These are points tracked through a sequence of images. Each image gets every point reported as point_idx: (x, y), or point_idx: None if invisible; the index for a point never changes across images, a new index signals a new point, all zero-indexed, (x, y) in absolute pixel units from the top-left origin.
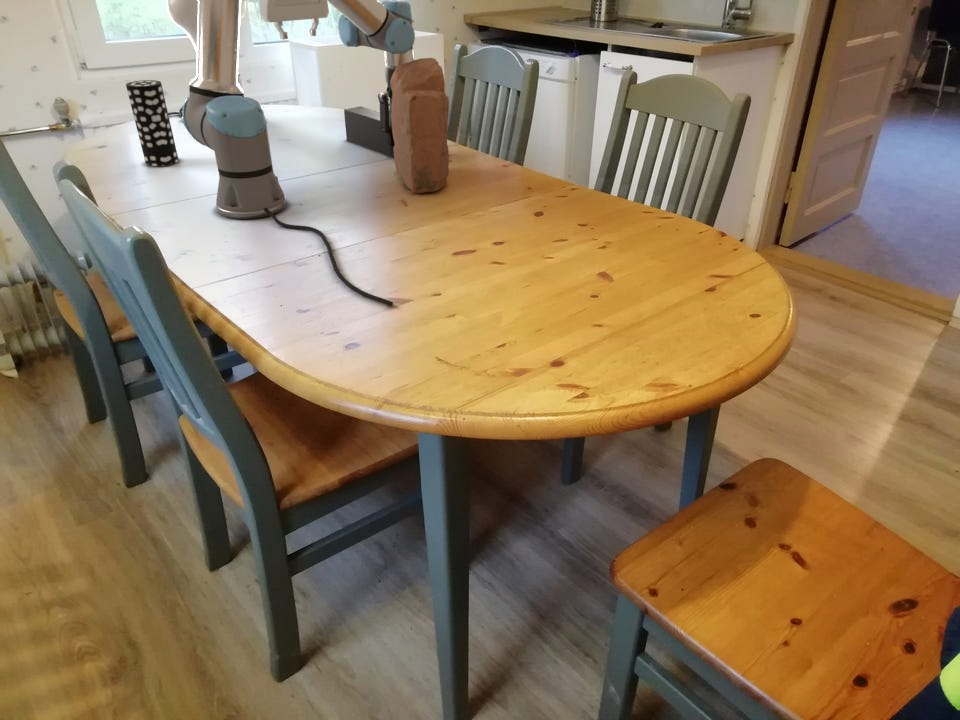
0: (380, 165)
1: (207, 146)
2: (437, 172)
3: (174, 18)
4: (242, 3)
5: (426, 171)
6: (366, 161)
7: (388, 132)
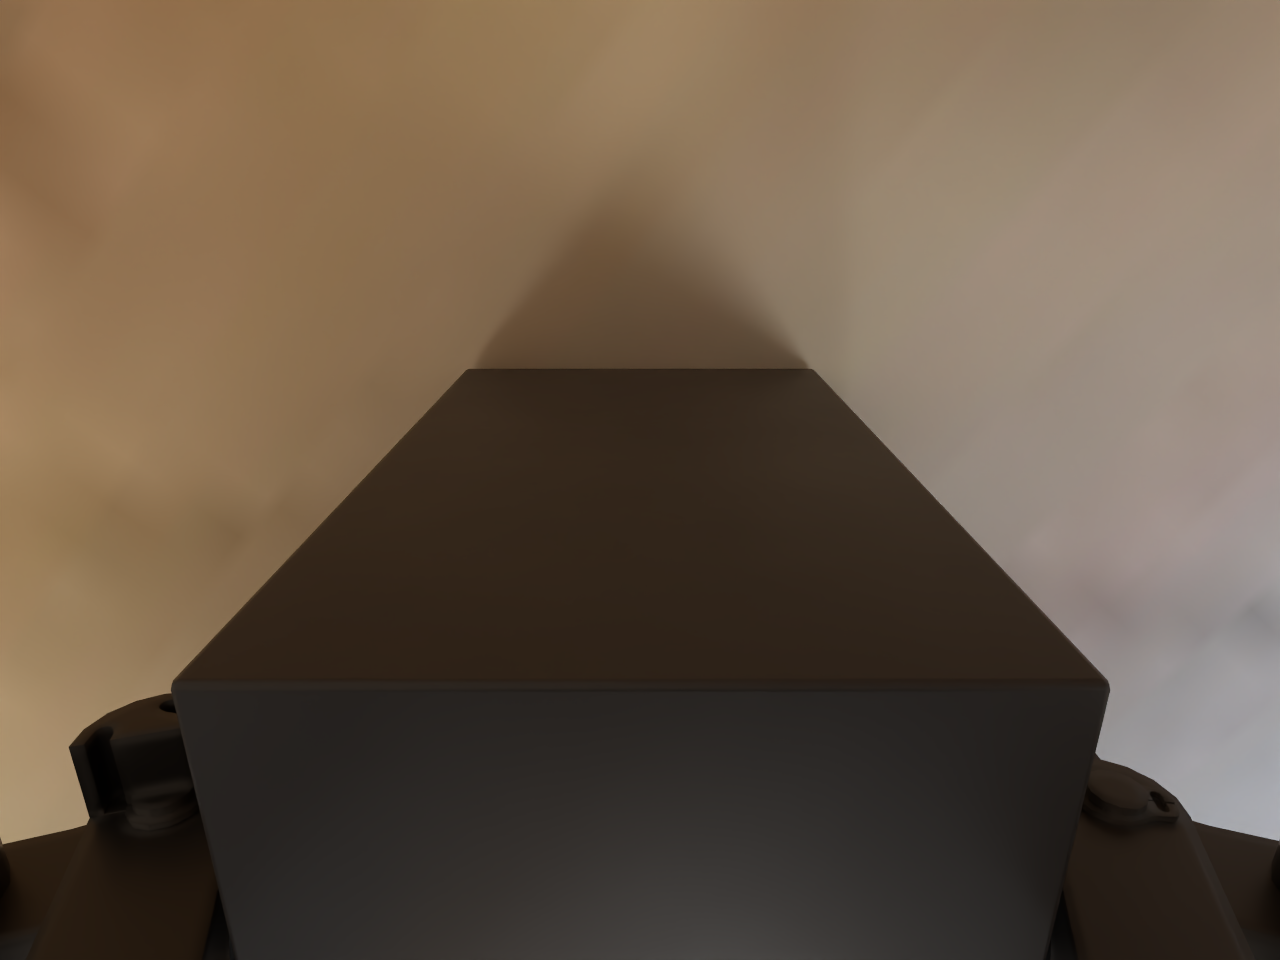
0: (1209, 427)
1: None
2: None
3: None
4: None
5: None
6: (1175, 694)
7: (1219, 844)
